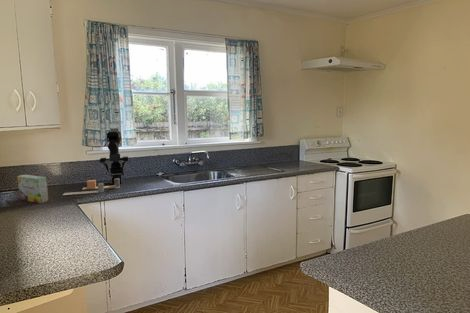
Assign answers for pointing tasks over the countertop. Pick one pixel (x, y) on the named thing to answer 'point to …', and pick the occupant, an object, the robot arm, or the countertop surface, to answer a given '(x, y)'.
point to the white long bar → (100, 189)
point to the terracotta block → (91, 184)
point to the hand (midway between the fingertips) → (115, 171)
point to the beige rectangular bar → (117, 185)
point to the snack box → (33, 188)
